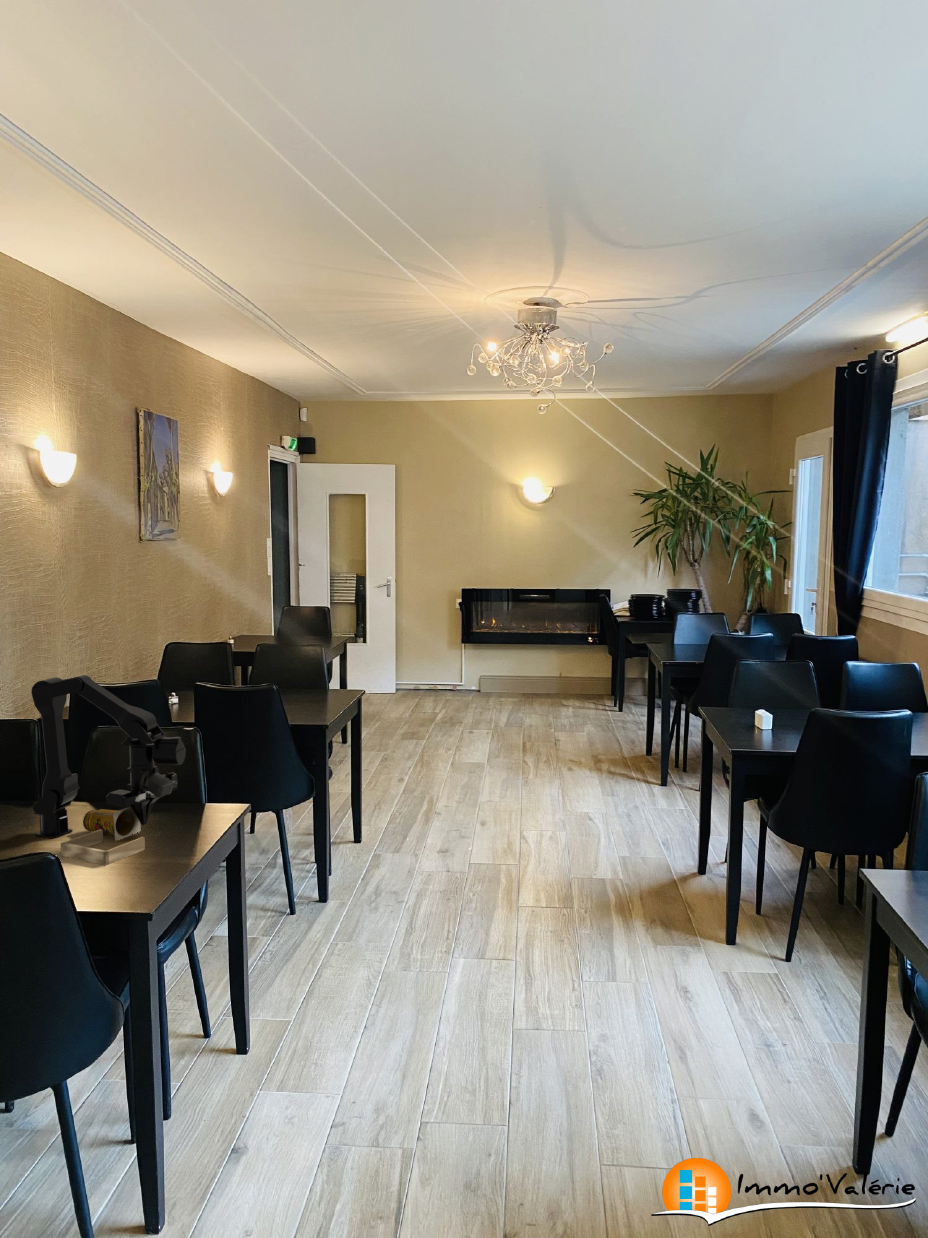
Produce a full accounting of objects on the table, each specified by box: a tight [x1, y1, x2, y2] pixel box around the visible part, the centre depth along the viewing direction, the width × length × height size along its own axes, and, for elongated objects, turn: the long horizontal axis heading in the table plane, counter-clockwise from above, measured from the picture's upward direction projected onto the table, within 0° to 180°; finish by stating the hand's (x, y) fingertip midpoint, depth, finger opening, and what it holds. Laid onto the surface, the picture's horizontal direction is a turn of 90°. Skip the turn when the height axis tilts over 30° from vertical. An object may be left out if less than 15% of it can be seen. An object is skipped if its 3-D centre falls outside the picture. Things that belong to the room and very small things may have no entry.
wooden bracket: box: [60, 829, 146, 866], centre depth 213 cm, size 15×12×3 cm
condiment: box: [82, 805, 142, 842], centre depth 227 cm, size 7×8×12 cm
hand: (143, 824), depth 224 cm, fingers closed
